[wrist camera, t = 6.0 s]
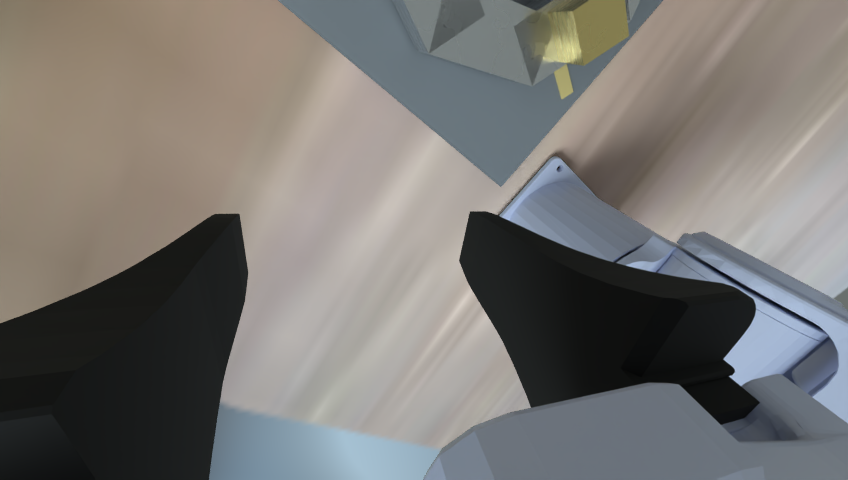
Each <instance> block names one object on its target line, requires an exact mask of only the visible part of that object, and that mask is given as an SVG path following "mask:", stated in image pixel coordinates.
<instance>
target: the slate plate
mask: <svg viewBox="0 0 848 480" xmlns="http://www.w3.org/2000/svg"><path fill="white" fill-rule="evenodd" d="M278 1H279V2H281V3H282V4H283V5H284V6H285V7H287V8H288V9H289V10H290V11H291V12H293V13H294V14H295V15H296V16H297V17H299V18H300V19H301V20H302V21H303V22H305V23H306V24H307V25H308V26H309V27H311V28H312V29H313V30H314V31H315V32H316V33H318V34H319V35H320V36H321V37H322V38H324V39H325V40H326V41H327V42H328V43H330V44H331V45H332V46H333V47H334V48H336V49H337V50H338V51H339V52H340V53H342V54H343V55H344V56H345V57H346V58H348V59H349V60H350V61H351V62H352V63H354V64H355V65H356V66H357V67H358V68H359V69H361V70H362V71H363V72H364V73H365V74H367V75H368V76H369V77H370V78H371V79H373V80H374V81H375V82H376V83H377V84H379V85H380V86H381V87H382V88H383V89H385V90H386V91H387V92H388V93H389V94H391V95H392V96H393V97H394V98H395V99H396V100H398V101H399V102H400V103H401V104H402V105H404V106H405V107H406V108H407V109H408V110H410V111H411V112H412V113H413V114H414V115H416V116H417V117H418V118H419V119H420V120H422V121H423V122H424V123H425V124H426V125H428V126H429V127H430V128H431V129H432V130H434V131H435V132H436V133H437V134H438V135H439V136H441V137H442V138H443V139H444V140H445V141H447V142H448V143H449V144H450V145H451V146H453V147H454V148H455V149H456V150H457V151H459V152H460V153H461V154H462V155H463V156H465V157H466V158H467V159H468V160H469V161H471V162H472V163H473V164H474V165H475V166H477V167H478V168H479V169H480V170H481V171H482V172H484V173H485V174H486V175H487V176H488V177H490V178H491V179H492V180H493V181H494V182H496V183H497V184H498V185H499V186H500V187H501V186H502V185H503V184H504V183H505V182H506V181H507V179H508V178H509V177H510V176H511V175H512V174H513V173H514V171H515V170H516V169H517V168H518V167H519V166H520V165H521V163H522V162H523V161H524V160H525V159H526V158H527V156H528V155H529V154H530V153H531V152H532V151H533V150H534V148H535V147H536V146H537V145H538V144H539V143H540V141H541V140H542V139H543V138H544V137H545V136H546V135H547V133H548V132H549V131H550V130H551V129H552V128H553V127H554V125H555V124H556V123H557V122H558V121H559V120H560V118H561V117H562V116H563V115H564V114H565V113H566V112H567V110H568V109H569V108H570V107H571V106H572V105H573V103H574V102H575V101H576V100H577V99H578V98H579V97H580V95H581V94H582V93H583V92H584V91H585V90H586V89H587V87H588V86H589V85H590V84H591V83H592V82H593V80H594V79H595V78H596V77H597V76H598V75H599V74H600V72H601V71H602V70H603V69H604V68H605V67H606V65H607V64H608V63H609V62H610V61H611V60H612V59H613V57H614V56H615V55H616V54H617V53H618V52H619V51H620V49H621V48H622V47H623V46H624V45H625V44H626V42H627V41H628V40H629V39H630V38H631V37H632V36H633V34H634V33H635V32H636V31H637V30H638V29H639V27H640V26H641V25H642V24H643V23H644V22H645V21H646V19H647V18H648V17H649V16H650V15H651V14H652V13H653V11H654V10H655V9H656V8H657V7H658V6H659V4H660V3H661V2H662V1H663V0H640V2H639V4H638V6H637V8H636V10H635V13H634V15H633V17H632V19H631V21H630V22H629V23H628V30H629V36H628V37H627V38H625V39H624V40H622V41H621V42H619V43H618V44H616V45H615V46H613V47H612V48H610V49H609V50H607V51H606V52H604V53H603V54H601V55H600V56H598V57H597V58H595V59H594V60H592V61H591V62H589V63H588V64H586V65H585V66H582V65H575V64H569V63H567V64H565V65H564V66H562V67H561V68H559V69H558V70H556V71H555V72H553V73H552V74H550V75H549V76H547V77H546V78H544V79H543V80H541V81H540V82H538V83H537V84H535V85H534V86H529V85H525V84H522V83H518V82H515V81H511V80H508V79H505V78H502V77H499V76H496V75H492V74H489V73H486V72H483V71H480V70H476V69H473V68H470V67H467V66H464V65H460V64H457V63H454V62H451V61H448V60H444V59H441V58H438V57H435V56H432V55H429V54H425V53H422V52H419V51H417V50H416V48H415V46H414V44H413V42H412V40H411V38H410V36H409V33H408V31H407V29H406V27H405V25H404V23H403V21H402V19H401V17H400V15H399V13H398V11H397V9H396V7H395V5H394V3H393V1H392V0H278ZM512 1H514V2H516V3H519V4H521V5H524V6H525V5H526V4H528V3H529V2H531V1H532V0H512Z"/></svg>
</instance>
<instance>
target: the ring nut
mask: <svg viewBox="0 0 848 480" xmlns="http://www.w3.org/2000/svg"><path fill="white" fill-rule="evenodd" d="M392 1H393V3H394V5H395V7H396V9H397V11H398V13H399V15H400V17H401V19H402V21H403V23H404V25H405V27H406V29H407V31H408V33H409V36H410V38H411V40H412V42H413V44H414V46H415V48H416V50H417V51H419V52H422V53H425V54H429V55H432V56H435V57H438V58H441V59H444V60H448V61H451V62H454V63H457V64H460V65H464V66H467V67H470V68H473V69H476V70H480V71H483V72H486V73H489V74H492V75H496V76H499V77H502V78H505V79H508V80H511V81H515V82H518V83H522V84H525V85H529V86H534V85H535V84H537V83H538V82H540V81H541V80H543V79H544V78H546V77H547V76H549V75H550V74H552V73H553V72H555V71H556V70H558V69H559V68H561V67H562V66H564V65H565V64H567V63H569V64H575V65H582V66H585V65H586V64H588V63H589V62H591V61H592V60H594V59H595V58H597V57H598V56H600V55H601V54H603V53H604V52H606V51H607V50H609V49H610V48H612V47H613V46H615V45H616V44H618V43H619V42H621V41H622V40H624V39H625V38H627V37H628V36H629V30H628V23H629V22H630V21H631V19H632V17H633V15H634V13H635V10H636V8H637V6H638V4H639V2H640V0H532V1H531V2H529V3H528V4H526V5H525V6H524V5H521V4H519V3H516V2H514V1H512V0H392Z"/></svg>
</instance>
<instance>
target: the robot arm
mask: <svg viewBox="0 0 848 480" xmlns="http://www.w3.org/2000/svg"><path fill="white" fill-rule="evenodd" d="M558 166H560V168H559V169H558V170H557V168H558ZM677 243H678V244H679V245H678V244H676V243H674V242H671V241H669V240H667V239H665V238H664V237H662V236H660V235H659V234H657V233H655V232H654V231H652V230H650V229H649V228H647V227H645V226H644V225H642V224H640V223H639V222H637V221H635V220H634V219H632V218H630V217H629V216H627V215H625V214H624V213H622V212H620V211H619V210H617V209H615V208H614V207H612V206H610V205H609V204H607V203H605V202H604V201H602V200H600V199H599V198H597V197H596V196H595V194H594V193H593V192H592V191H591V190H590V189H589V188H588V187H587V186H586V185H585V184H584V183H583V182H582V181H581V180H580V178H579V177H578V176H577V175H576V174H575V173H574V172H573V171H572V170H571V169H570V168H569V167H568V166H567V165H566V163H565V162H564V161H563V160H562V159H561V158H559V157H557V156H554V157H551V158H550V159H549V160H548V161H547V162H546V164H545V165H544V166H543V167H542V168H541V169H540V170H539V171H538V173H537V174H536V175H535V176H534V177H533V178H532V179H531V180H530V182H529V183H528V184H527V185H526V186H525V187H524V188H523V189H522V191H521V192H520V193H519V194H518V195H517V196H516V197H515V198H514V200H513V201H512V202H511V203H510V204H509V205H508V206H507V207H506V209H505V210H504V211H503V212H502V213H501V214H500V215H499V216H498V215H495V214H492V213H489V212H486V211H483V212H470V214H469V218H468V223H467V227H466V232H465V236H464V241H463V246H462V250H461V255H460V259H459V261H460V264H461V267H462V269H463V272H464V274H465V277H466V279H467V281H468V283H469V285H470V287H471V289H472V290H473V292H474V294H475V296H476V297H477V299H478V301H479V302H480V304H481V306H482V307H483V309H484V310H485V312H486V314H487V315H488V317H489V319H490V320H491V322H492V324H493V325H494V327H495V329H496V330H497V332H498V334H499V335H500V337H501V339H502V341H503V343H504V345H505V347H506V349H507V351H508V354H509V356H510V358H511V360H512V362H513V364H514V367H515V369H516V371H517V374H518V376H519V378H520V381H521V383H522V386H523V388H524V390H525V393H526V395H527V398H528V400H529V403H530V406H531V408H528V409H524V410H519V411H514V412H510V413H507V414H504V415H502V416H499V417H496V418H494V419H491V420H488V421H486V422H483V423H480V424H478V425H475V426H473V427H471V428H470V429H469V430H467V431H466V432H464V433H463V434H462V435H460V436H459V437H457V438H456V439H455V440H453V441H452V442H450V443H449V444H448V445H446V446H445V447H443V448H442V450H441V451H440V453H439V454H438V456H437V457H436V459H435V460H434V462H433V463H432V465H431V467H430V468H429V469H428V471H427V473H426V475H425V477H424V479H423V480H848V310H847V309H845V308H844V307H843V304H842V303H840V302H839V301H837V300H835V299H833V298H831V297H829V296H827V295H825V294H824V293H822V292H820V291H818V290H816V289H814V288H812V287H810V286H808V285H806V284H805V283H803V282H801V281H799V280H797V279H795V278H793V277H791V276H789V275H787V274H785V273H784V272H782V271H780V270H778V269H776V268H774V267H772V266H770V265H768V264H766V263H764V262H762V261H761V260H759V259H757V258H755V257H753V256H751V255H749V254H747V253H745V252H743V251H741V250H739V249H737V248H735V247H734V246H732V245H730V244H728V243H726V242H724V241H722V240H720V239H718V238H716V237H714V236H712V235H710V234H708V233H706V232H698V233H693V234H692V235H691V234H688V233H684V234H683V235H682V236H681V238H680V239H679V240H678V241H677ZM680 245H681V246H680ZM247 279H248V268H247V262H246V255H245V248H244V242H243V235H242V228H241V222H240V215H239V214H214V215H212V216H211V217H209V218H207V219H206V220H204V221H203V222H201V223H200V224H198V225H197V226H196V227H194V228H193V229H191V230H190V231H188V232H187V233H185V234H184V235H182V236H181V237H179V238H178V239H176V240H175V241H173V242H172V243H170V244H169V245H167V246H166V247H164V248H162V249H161V250H159V251H157V252H156V253H154V254H152V255H151V256H149V257H147V258H146V259H144V260H142V261H141V262H139V263H137V264H136V265H134V266H132V267H130V268H129V269H127V270H125V271H123V272H121V273H119V274H117V275H115V276H113V277H111V278H109V279H107V280H105V281H103V282H101V283H99V284H97V285H95V286H92V287H90V288H88V289H86V290H84V291H81V292H79V293H77V294H74V295H72V296H69V297H67V298H64V299H62V300H60V301H57V302H55V303H52V304H50V305H47V306H45V307H43V308H40V309H38V310H35V311H33V312H30V313H28V314H25V315H22V316H20V317H17V318H14V319H11V320H8V321H6V322H3V323H0V480H209V474H210V465H211V458H212V450H213V444H214V436H215V430H216V423H217V416H218V409H219V403H220V397H221V391H222V384H223V380H224V375H225V371H226V367H227V363H228V359H229V356H230V352H231V349H232V345H233V342H234V338H235V335H236V331H237V328H238V324H239V320H240V317H241V313H242V310H243V306H244V302H245V295H246V288H247Z"/></svg>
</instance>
